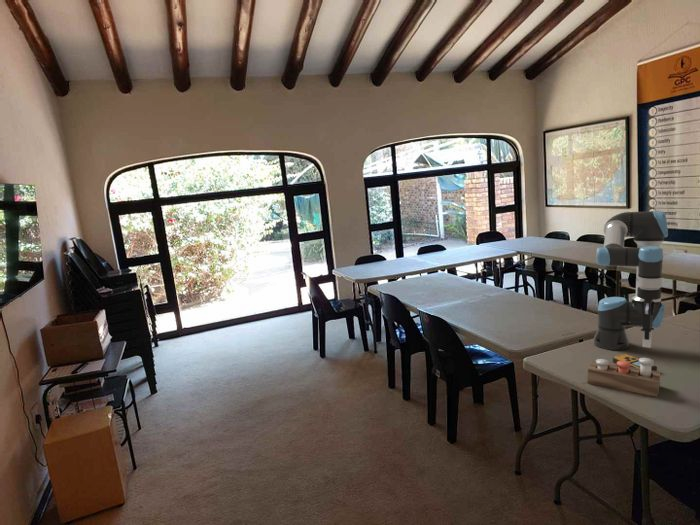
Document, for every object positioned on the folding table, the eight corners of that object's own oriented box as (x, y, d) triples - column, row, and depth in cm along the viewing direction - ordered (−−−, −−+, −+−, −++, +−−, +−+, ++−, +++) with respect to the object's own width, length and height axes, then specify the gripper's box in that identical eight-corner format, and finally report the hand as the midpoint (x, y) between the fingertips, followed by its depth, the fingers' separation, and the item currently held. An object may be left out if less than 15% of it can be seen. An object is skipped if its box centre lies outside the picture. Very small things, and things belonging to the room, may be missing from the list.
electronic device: (625, 359, 209) (625, 352, 208) (657, 372, 194) (657, 365, 194) (611, 363, 207) (611, 356, 206) (642, 376, 192) (642, 368, 191)
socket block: (592, 373, 197) (592, 360, 196) (659, 386, 182) (660, 371, 181) (587, 383, 189) (587, 369, 188) (657, 396, 175) (658, 382, 173)
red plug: (617, 377, 189) (617, 359, 187) (630, 379, 186) (631, 362, 184) (615, 381, 185) (615, 364, 184) (629, 384, 182) (629, 366, 181)
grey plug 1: (596, 374, 194) (597, 358, 192) (609, 377, 191) (610, 360, 189) (594, 379, 190) (595, 362, 188) (607, 381, 187) (608, 364, 185)
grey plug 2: (639, 374, 184) (639, 356, 182) (653, 376, 181) (654, 359, 179) (637, 379, 180) (638, 361, 179) (652, 381, 177) (652, 363, 176)
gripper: (639, 282, 181) (637, 339, 185) (635, 290, 171) (633, 350, 175) (662, 284, 176) (659, 342, 180) (659, 292, 166) (656, 354, 170)
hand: (646, 346), depth 178 cm, fingers closed
